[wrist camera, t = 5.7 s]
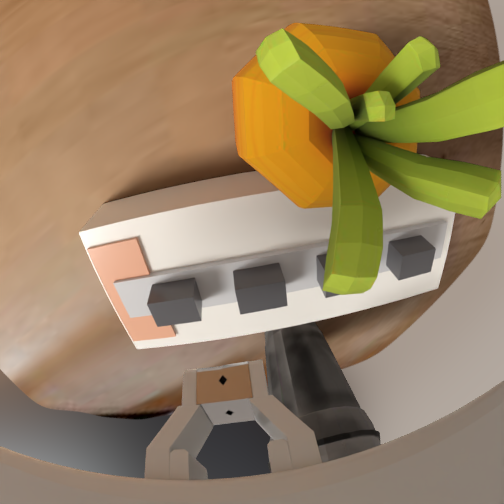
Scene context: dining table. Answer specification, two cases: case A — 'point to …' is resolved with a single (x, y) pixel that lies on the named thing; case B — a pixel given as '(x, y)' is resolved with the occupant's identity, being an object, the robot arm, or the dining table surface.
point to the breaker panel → (246, 259)
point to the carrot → (361, 134)
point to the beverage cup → (317, 391)
